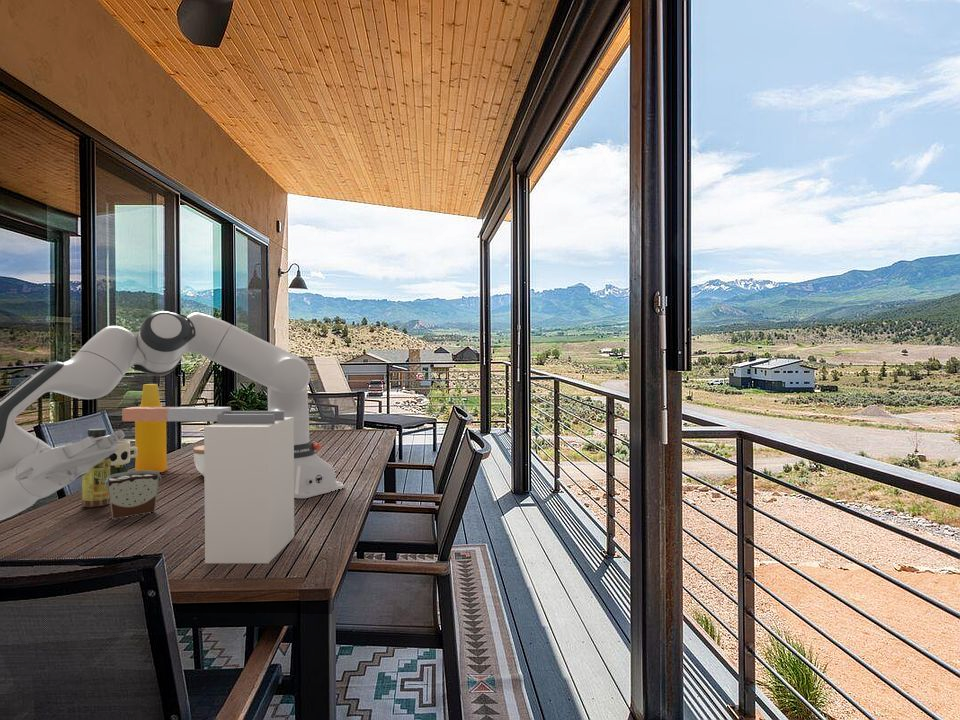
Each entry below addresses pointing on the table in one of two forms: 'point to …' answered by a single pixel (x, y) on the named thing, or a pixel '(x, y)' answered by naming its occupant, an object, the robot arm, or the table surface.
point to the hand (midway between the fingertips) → (107, 436)
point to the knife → (173, 413)
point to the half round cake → (132, 492)
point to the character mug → (121, 457)
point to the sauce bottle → (96, 479)
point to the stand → (248, 486)
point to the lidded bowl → (199, 458)
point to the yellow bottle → (151, 436)
